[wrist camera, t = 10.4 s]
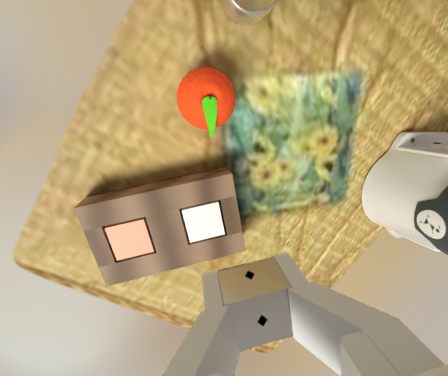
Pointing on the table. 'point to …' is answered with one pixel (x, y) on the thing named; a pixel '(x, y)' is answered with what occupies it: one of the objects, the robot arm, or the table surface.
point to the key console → (162, 223)
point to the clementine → (206, 98)
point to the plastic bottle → (247, 10)
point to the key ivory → (203, 221)
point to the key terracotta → (130, 238)
